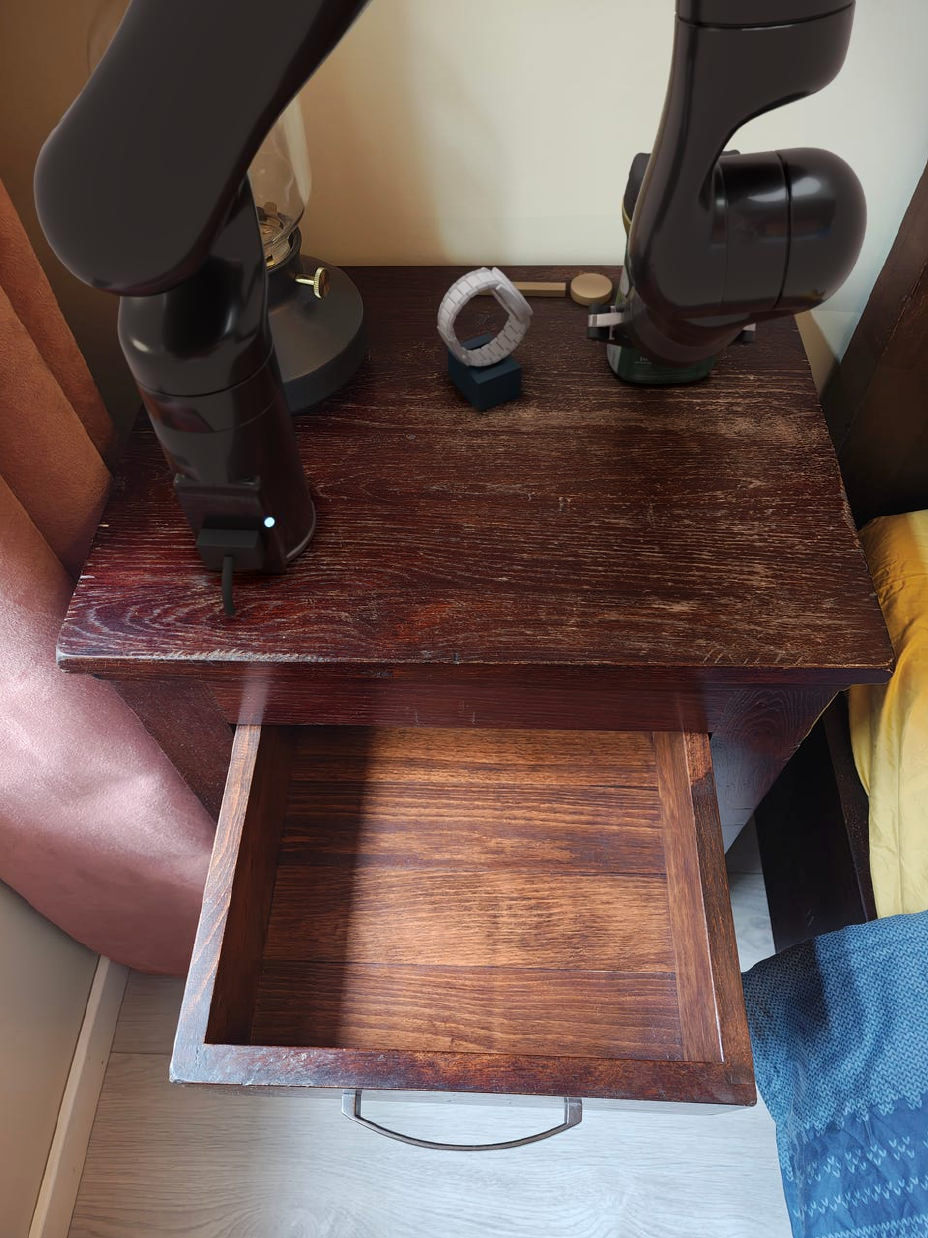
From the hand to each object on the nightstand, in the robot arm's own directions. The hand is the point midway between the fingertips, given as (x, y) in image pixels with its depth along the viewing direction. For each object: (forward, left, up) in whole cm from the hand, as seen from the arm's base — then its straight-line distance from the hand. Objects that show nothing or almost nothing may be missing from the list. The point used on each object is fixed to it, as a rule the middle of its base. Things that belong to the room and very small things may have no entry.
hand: (656, 341), depth 76 cm
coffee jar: (+4, -1, -6) cm, 7 cm away
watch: (0, +14, -6) cm, 16 cm away
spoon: (+14, +9, -5) cm, 18 cm away
